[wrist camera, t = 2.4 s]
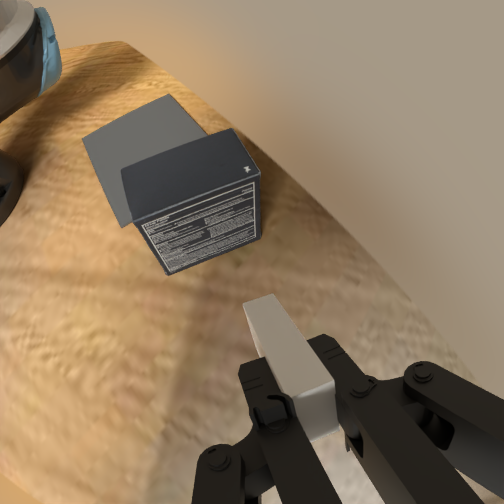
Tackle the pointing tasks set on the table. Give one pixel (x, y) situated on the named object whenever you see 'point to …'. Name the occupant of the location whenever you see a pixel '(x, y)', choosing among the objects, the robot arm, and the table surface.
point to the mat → (137, 145)
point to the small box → (195, 200)
